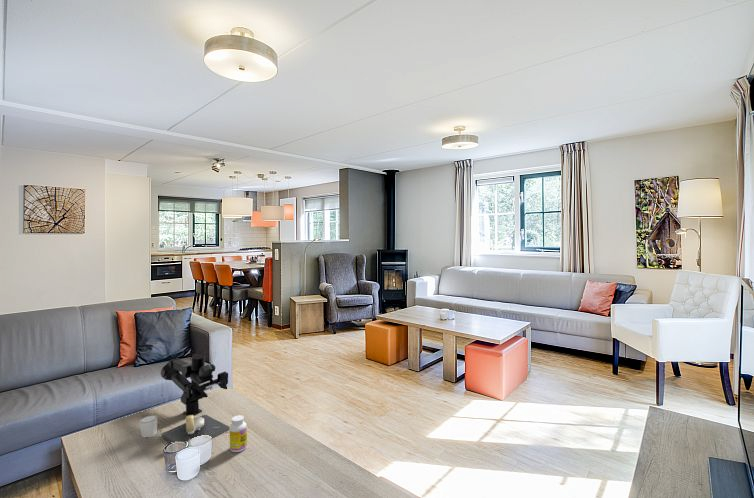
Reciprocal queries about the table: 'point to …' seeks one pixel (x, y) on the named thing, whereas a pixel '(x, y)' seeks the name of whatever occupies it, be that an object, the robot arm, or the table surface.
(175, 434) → the base
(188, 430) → the beige rounded piece
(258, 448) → the table surface
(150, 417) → the shot glass
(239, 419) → the supplement bottle
